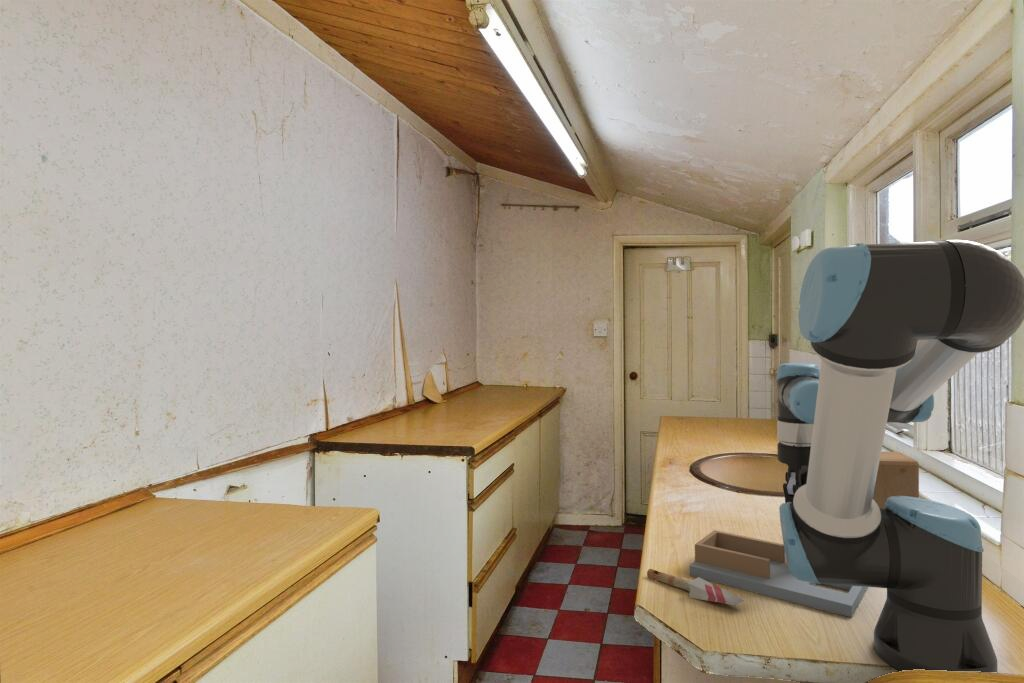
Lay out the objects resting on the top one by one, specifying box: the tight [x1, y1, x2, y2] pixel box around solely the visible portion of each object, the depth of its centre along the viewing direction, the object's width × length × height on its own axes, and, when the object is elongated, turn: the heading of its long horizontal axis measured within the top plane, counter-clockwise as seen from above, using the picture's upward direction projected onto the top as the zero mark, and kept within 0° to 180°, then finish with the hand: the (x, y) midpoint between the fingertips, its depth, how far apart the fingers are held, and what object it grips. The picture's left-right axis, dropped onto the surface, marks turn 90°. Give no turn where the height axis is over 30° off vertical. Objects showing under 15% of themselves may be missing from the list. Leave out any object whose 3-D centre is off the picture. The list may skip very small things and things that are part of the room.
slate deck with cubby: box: [689, 529, 869, 618], centre depth 120 cm, size 20×29×6 cm
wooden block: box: [872, 451, 920, 508], centre depth 137 cm, size 10×10×20 cm
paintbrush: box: [646, 568, 746, 606], centre depth 114 cm, size 4×3×20 cm
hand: (799, 561), depth 119 cm, fingers closed
